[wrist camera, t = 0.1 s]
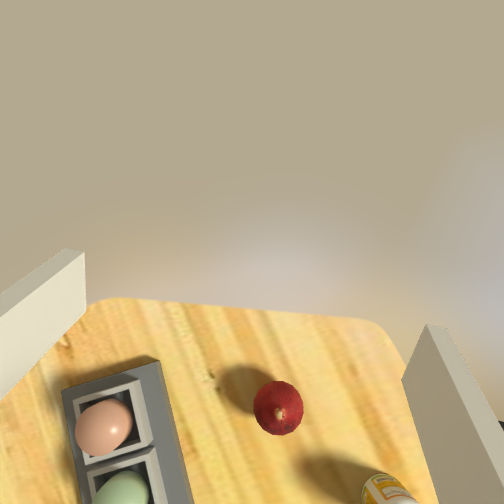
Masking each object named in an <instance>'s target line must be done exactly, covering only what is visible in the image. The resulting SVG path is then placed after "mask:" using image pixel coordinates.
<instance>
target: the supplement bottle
mask: <svg viewBox="0 0 504 504" xmlns="http://www.w3.org/2000/svg"><path fill="white" fill-rule="evenodd" d="M361 499H362V504H419V503H418V502H417V501H416V500H415V499H414V498H413V496H412V495H411V494H410V493H409V492H408V491H407V490H406V489H405V487H404V486H403V485H402V484H401V483H400V482H399V481H398V480H397V479H396V478H394V477H392V476H390V475H387V474H377V475H374V476H372V477H371V478H369V479H368V480H367V481H366V483H365V484H364V486H363V489H362V495H361Z"/></svg>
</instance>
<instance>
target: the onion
mask: <svg viewBox="0 0 504 504" xmlns="http://www.w3.org/2000/svg"><path fill="white" fill-rule="evenodd" d="M303 413H304V412H303V401H302V399H301V397H300V394H299V392H298V391H297V390H296V389H295V388H294V387H293V386H292V385H290V384H288V383H286V382H284V381H273V382H271V383H268V384H266V385H265V386H263V387H262V388H261V389H260V390H259V391H258V393H257V395H256V397H255V399H254V414H255V417H256V420H257V422H258V423H259V425H260V426H261V427H262V429H263V430H265V431H267V432H268V433H270V434H272V435H285V434H288V433H290V432H293V431H294V430H295V429H296V428H297V426H298V425H299V424H300V423H301V419H302V416H303Z"/></svg>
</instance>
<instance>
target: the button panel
mask: <svg viewBox="0 0 504 504" xmlns="http://www.w3.org/2000/svg"><path fill="white" fill-rule="evenodd" d="M61 394H62V399H63V405H64V410H65V415H66V420H67V426H68V431H69V436H70V441H71V446H72V452H73V457H74V462H75V467H76V473H77V478H78V483H79V488H80V493H81V499H82V504H91V503H92V500H93V498H94V496H95V495H96V493H97V492H98V491H99V490H100V489H101V487H102V486H103V485H104V484H105V483H106V482H107V481H108V480H109V479H110V478H111V477H112V476H113V475H115V474H116V473H118V472H121V471H134V472H136V473H138V474H140V475H141V476H142V477H143V478H144V479H145V481H146V483H147V485H148V488H149V502H148V504H194V500H193V496H192V492H191V488H190V483H189V479H188V475H187V471H186V467H185V463H184V459H183V454H182V450H181V446H180V442H179V438H178V434H177V430H176V426H175V421H174V417H173V413H172V409H171V405H170V401H169V397H168V392H167V388H166V384H165V380H164V376H163V372H162V368H161V363H160V361H156V362H153V363H150V364H146V365H143V366H140V367H137V368H133V369H130V370H127V371H123V372H120V373H117V374H113V375H110V376H107V377H103V378H100V379H97V380H94V381H90V382H87V383H84V384H80V385H77V386H74V387H70V388H67V389H64V390H61ZM106 399H118V400H121V401H123V402H124V403H125V404H126V405H127V406H128V407H129V408H130V410H131V413H132V416H133V426H132V430H131V432H130V434H129V436H128V437H127V438H126V439H125V440H124V441H123V442H122V443H121V444H120V445H119V446H118V447H117V448H115V449H114V450H113V451H112V452H110V453H109V454H106V455H103V456H91V455H89V454H87V453H85V452H84V451H83V450H82V449H81V448H80V447H79V445H78V444H77V441H76V438H75V426H76V423H77V420H78V418H79V417H80V415H81V414H82V413H83V412H84V411H85V410H86V409H87V408H89V407H91V406H93V405H95V404H97V403H99V402H101V401H103V400H106Z"/></svg>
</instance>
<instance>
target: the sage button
mask: <svg viewBox="0 0 504 504" xmlns="http://www.w3.org/2000/svg"><path fill="white" fill-rule="evenodd" d="M148 502H149V488H148V485H147V483H146V481H145V479H144V478H143V477H142V476H141V475H140V474H138V473H136V472H134V471H121V472H118V473H116V474H115V475H113V476H112V477H111V478H110V479H109V480H108V481H107V482H106V483H105V484H104V485H103V486H102V487H101V489H100V490H99V491H98V492H97V493H96V495H95V496H94V498H93V500H92V503H91V504H148Z"/></svg>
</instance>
